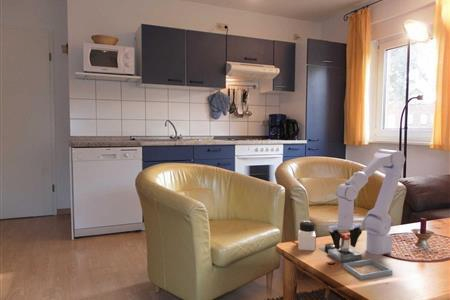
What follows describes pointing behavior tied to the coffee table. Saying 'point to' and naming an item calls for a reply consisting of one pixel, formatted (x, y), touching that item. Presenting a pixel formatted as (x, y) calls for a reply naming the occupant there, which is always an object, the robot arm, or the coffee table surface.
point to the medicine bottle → (306, 236)
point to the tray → (368, 275)
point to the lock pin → (345, 243)
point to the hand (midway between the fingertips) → (344, 247)
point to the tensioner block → (340, 257)
